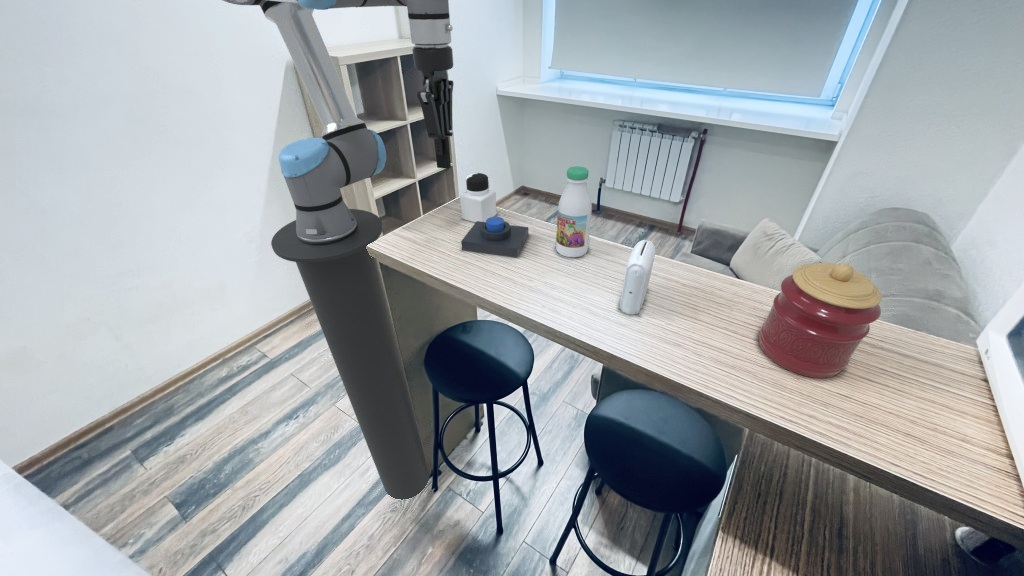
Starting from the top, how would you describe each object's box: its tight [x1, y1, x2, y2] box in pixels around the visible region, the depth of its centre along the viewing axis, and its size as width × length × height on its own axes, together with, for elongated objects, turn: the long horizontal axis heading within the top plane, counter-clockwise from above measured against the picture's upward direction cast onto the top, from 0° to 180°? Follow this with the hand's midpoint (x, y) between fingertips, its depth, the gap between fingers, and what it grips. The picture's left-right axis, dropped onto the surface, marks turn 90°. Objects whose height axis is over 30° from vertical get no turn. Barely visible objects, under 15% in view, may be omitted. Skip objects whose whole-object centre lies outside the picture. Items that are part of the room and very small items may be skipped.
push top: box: [486, 216, 505, 232], centre depth 99 cm, size 4×4×2 cm
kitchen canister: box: [758, 262, 883, 379], centre depth 65 cm, size 13×13×18 cm
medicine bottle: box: [459, 172, 498, 223], centre depth 111 cm, size 7×7×12 cm
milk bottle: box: [555, 166, 593, 258], centre depth 93 cm, size 8×8×20 cm
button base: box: [461, 220, 529, 258], centre depth 101 cm, size 14×11×4 cm
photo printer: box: [619, 239, 656, 315], centre depth 79 cm, size 10×4×12 cm, turn 155°
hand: (444, 167), depth 91 cm, fingers closed
